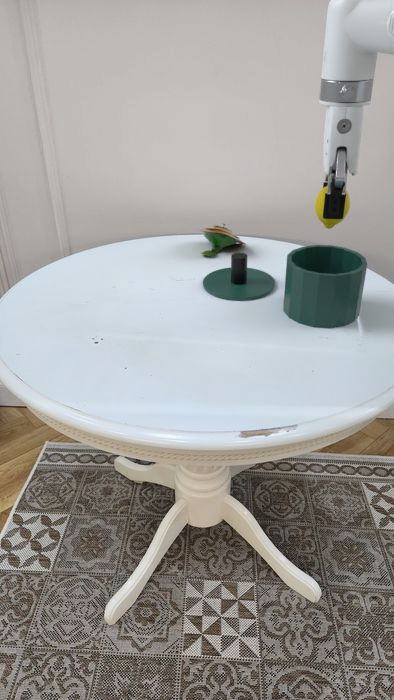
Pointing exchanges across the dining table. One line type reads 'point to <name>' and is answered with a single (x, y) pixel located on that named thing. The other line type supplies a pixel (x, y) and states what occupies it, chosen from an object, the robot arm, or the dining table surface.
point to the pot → (324, 285)
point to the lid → (238, 281)
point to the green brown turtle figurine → (219, 239)
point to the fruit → (320, 206)
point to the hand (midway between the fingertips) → (331, 211)
